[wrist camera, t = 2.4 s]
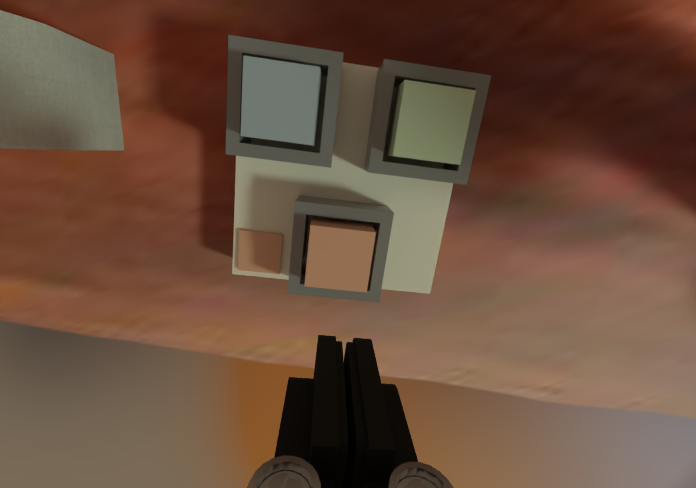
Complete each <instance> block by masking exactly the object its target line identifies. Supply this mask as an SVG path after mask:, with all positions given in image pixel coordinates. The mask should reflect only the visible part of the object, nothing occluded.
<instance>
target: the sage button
mask: <svg viewBox="0 0 696 488" xmlns="http://www.w3.org/2000/svg"><path fill="white" fill-rule="evenodd" d="M475 93H476V90H470V89H463V88H457V87H450V86H443V85H437V84H430V83H423V82H417V81H410V80H404V81H403V82H402V83H401V84H400V85H399V86H398V87H397V90H396V97H395V103H394V110H393V116H392V123H391V129H390V136H389V142H388V149H387V156H394V157H402V158H409V159H417V160H425V161H432V162H440V163H447V164H457V165H460V164H461V159H462V154H463V150H464V145H465V140H466V136H467V131H468V126H469V122H470V117H471V112H472V107H473V103H474V98H475Z"/></svg>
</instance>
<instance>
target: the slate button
mask: <svg viewBox="0 0 696 488" xmlns="http://www.w3.org/2000/svg"><path fill="white" fill-rule="evenodd" d="M321 79H322V75H321V69H320V67H317V66H311V65H304V64H297V63H291V62H284V61H277V60H271V59H264V58H257V57H251V56H244V55H243V79H242V108H241V136H244V137H250V138H258V139H265V140H273V141H281V142H288V143H296V144H303V145H311V146H315V142H316V132H317V121H318V111H319V100H320V89H321Z"/></svg>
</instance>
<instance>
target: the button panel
mask: <svg viewBox="0 0 696 488" xmlns="http://www.w3.org/2000/svg"><path fill="white" fill-rule="evenodd" d="M343 54H344V52H337V51H331V50H324V49H318V48H311V47H305V46H298V45H292V44H285V43H279V42H273V41H266V40H260V39H253V38H247V37H240V36H234V35H228V71H227V114H226V154H227V155H235V156H236V175H235V206H234V238H233V269H232V274H238V275H248V276H258V277H268V278H278V279H288V292H287V294H298V295H308V296H318V297H329V298H339V299H349V300H360V301H370V302H379V300H380V294H381V289H388V290H398V291H408V292H418V293H428V294H430V291H431V286H432V281H433V277H434V272H435V267H436V263H437V258H438V253H439V248H440V244H441V239H442V234H443V229H444V225H445V220H446V215H447V211H448V206H449V201H450V196H451V192H452V187H453V183H455V184H463V185H467V183H468V178H469V174H470V169H471V165H472V160H473V156H474V151H475V147H476V142H477V138H478V133H479V129H480V124H481V120H482V115H483V111H484V106H485V102H486V98H487V93H488V89H489V84H490V80H491V75H486V74H479V73H473V72H466V71H460V70H453V69H447V68H440V67H434V66H428V65H421V64H415V63H408V62H402V61H395V60H389V59H384V60H383V62H382V64H381V65H380V67H379V68H377V67H370V66H364V65H357V64H351V63H344V62H343ZM243 55H244V56H251V57H257V58H264V59H271V60H277V61H284V62H291V63H297V64H304V65H311V66H317V67H320V69H321V75H322V79H321V89H320V100H319V111H318V121H317V132H316V142H315V146H311V145H303V144H296V143H288V142H281V141H273V140H265V139H258V138H250V137H244V136H241V108H242V79H243ZM404 80H410V81H417V82H423V83H430V84H437V85H443V86H450V87H457V88H463V89H470V90H476V93H475V98H474V103H473V107H472V112H471V117H470V122H469V126H468V131H467V136H466V140H465V145H464V150H463V154H462V159H461V164H460V165H457V164H447V163H440V162H432V161H425V160H417V159H409V158H402V157H394V156H387V149H388V142H389V136H390V129H391V123H392V116H393V110H394V103H395V97H396V90H397V87H398V86H399V85H400V84H401V83H402V82H403V81H404ZM312 218H321V219H330V220H338V221H347V222H356V223H364V224H372V226H373V228H374V230H375V232H376V236H375V242H374V249H373V255H372V262H371V268H370V275H369V281H368V288H367V293H366V292H356V291H346V290H336V289H326V288H316V287H306V286H304V285H305V275H306V265H307V254H308V244H309V234H310V225H311V221H312Z"/></svg>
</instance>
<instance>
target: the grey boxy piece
mask: <svg viewBox="0 0 696 488" xmlns="http://www.w3.org/2000/svg"><path fill="white" fill-rule="evenodd" d="M0 148H13V149H45V150H124V142H123V133H122V124H121V115H120V106H119V97H118V88H117V79H116V70H115V61H114V54H112V53H110V52H107V51H105V50H103V49H101V48H98V47H96V46H94V45H91V44H89V43H87V42H85V41H82V40H80V39H78V38H76V37H73V36H71V35H69V34H67V33H64V32H62V31H60V30H58V29H55V28H53V27H51V26H48V25H46V24H44V23H40V22H37V21H34V20H31V19H27V18H24V17H21V16H18V15H15V14H11V13H8V12H5V11H2V10H0Z"/></svg>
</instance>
